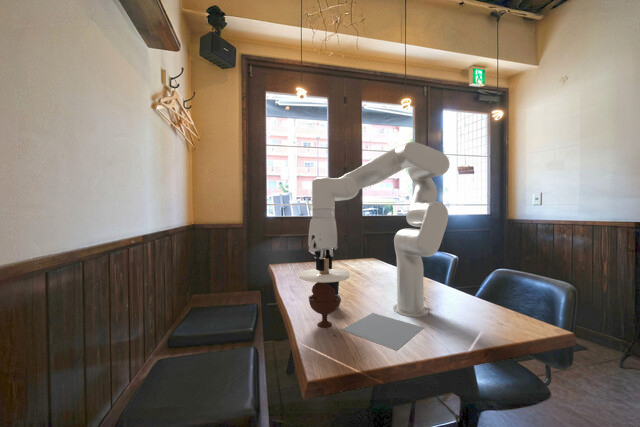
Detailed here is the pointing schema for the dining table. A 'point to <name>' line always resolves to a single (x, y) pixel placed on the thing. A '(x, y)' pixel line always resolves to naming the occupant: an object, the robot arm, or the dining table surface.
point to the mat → (383, 330)
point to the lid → (324, 274)
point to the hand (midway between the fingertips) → (324, 269)
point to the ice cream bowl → (324, 302)
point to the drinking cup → (334, 286)
